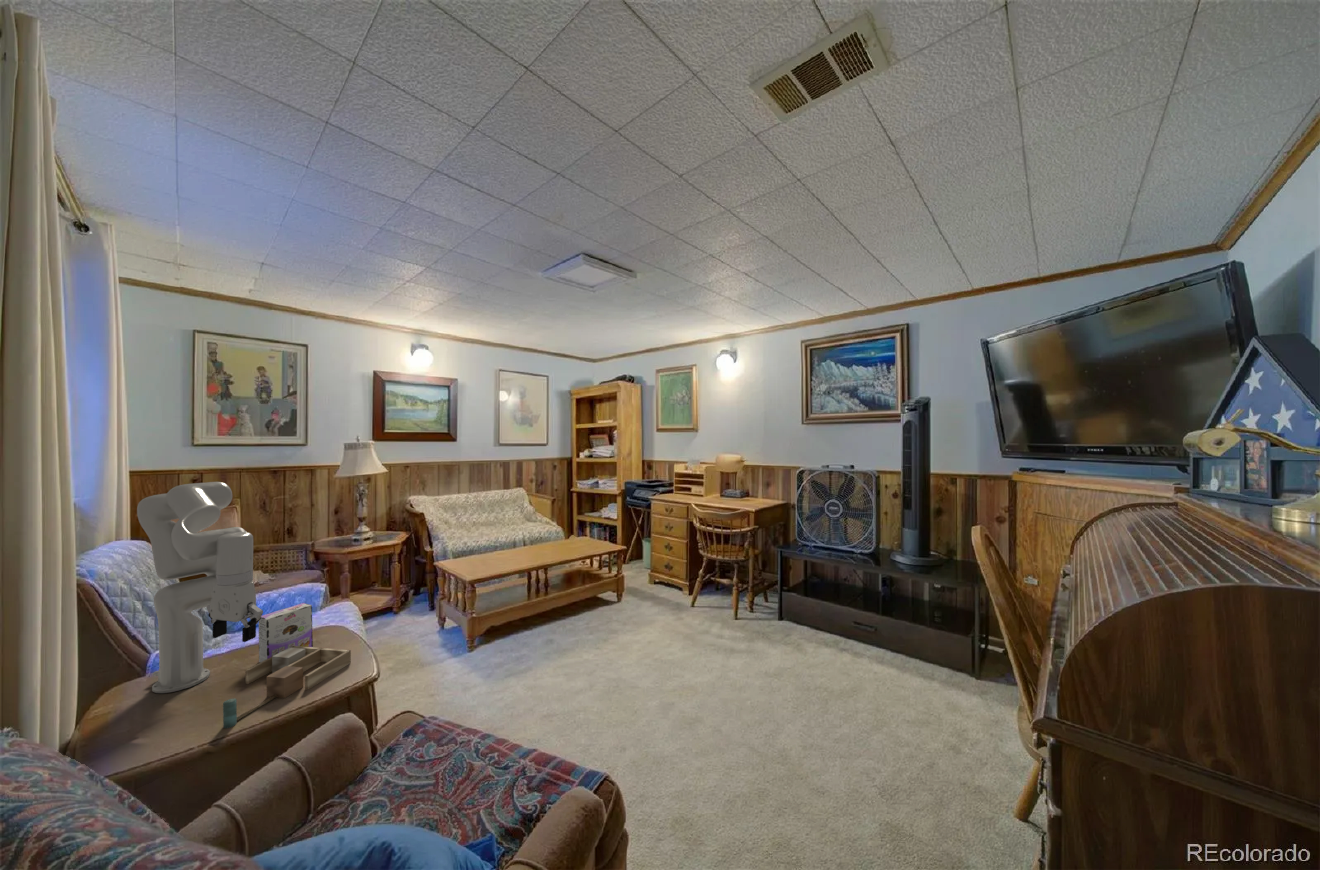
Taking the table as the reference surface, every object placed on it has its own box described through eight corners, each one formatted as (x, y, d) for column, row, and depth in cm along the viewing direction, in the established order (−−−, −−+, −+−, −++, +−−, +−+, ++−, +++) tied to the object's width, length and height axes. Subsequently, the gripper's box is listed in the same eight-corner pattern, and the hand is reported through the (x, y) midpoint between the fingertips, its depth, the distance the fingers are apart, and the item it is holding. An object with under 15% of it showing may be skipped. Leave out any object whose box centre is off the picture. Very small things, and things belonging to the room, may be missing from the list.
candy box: (304, 646, 167) (304, 601, 167) (313, 649, 165) (313, 604, 164) (258, 663, 155) (257, 615, 154) (267, 667, 152) (266, 618, 152)
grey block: (272, 674, 147) (272, 656, 147) (289, 665, 153) (289, 647, 153) (288, 676, 146) (288, 657, 146) (305, 666, 152) (305, 648, 152)
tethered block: (215, 729, 121) (214, 703, 121) (286, 687, 140) (285, 664, 140) (234, 731, 120) (234, 705, 120) (303, 688, 139) (303, 666, 139)
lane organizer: (245, 686, 141) (245, 670, 141) (293, 660, 157) (293, 645, 157) (308, 692, 138) (307, 675, 138) (350, 665, 154) (350, 650, 154)
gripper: (193, 579, 124) (193, 640, 125) (247, 585, 122) (246, 647, 122) (223, 570, 132) (223, 628, 132) (274, 575, 129) (274, 634, 130)
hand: (234, 637), depth 127 cm, fingers open, 9 cm apart
